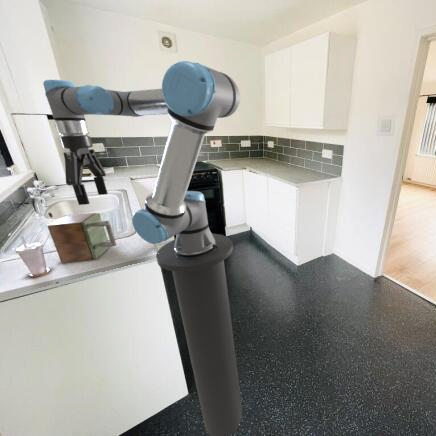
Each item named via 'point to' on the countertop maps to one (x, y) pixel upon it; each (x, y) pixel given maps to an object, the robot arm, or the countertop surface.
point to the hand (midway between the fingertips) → (94, 199)
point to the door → (98, 235)
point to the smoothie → (32, 256)
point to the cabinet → (71, 238)
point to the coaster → (40, 274)
